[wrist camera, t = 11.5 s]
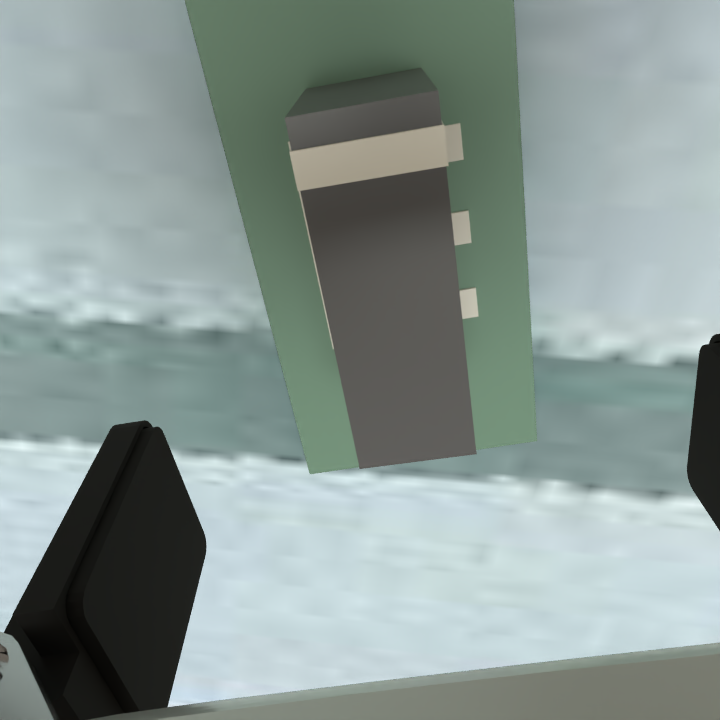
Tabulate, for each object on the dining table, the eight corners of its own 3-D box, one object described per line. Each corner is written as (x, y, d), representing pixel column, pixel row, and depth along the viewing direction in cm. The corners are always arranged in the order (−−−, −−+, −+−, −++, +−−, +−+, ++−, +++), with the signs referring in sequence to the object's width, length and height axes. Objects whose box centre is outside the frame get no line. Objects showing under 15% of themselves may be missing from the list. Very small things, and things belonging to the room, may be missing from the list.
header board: (182, -48, 21) (131, -64, 16) (497, -113, 20) (543, -150, 15) (311, 453, 30) (304, 539, 25) (528, 421, 30) (563, 503, 25)
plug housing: (303, 89, 21) (282, 118, 16) (422, 67, 21) (441, 90, 16) (360, 376, 27) (357, 470, 21) (456, 362, 26) (478, 455, 21)
